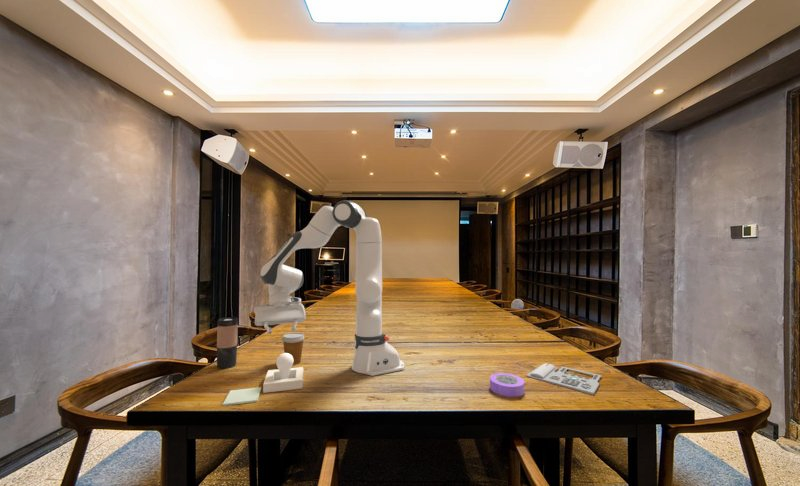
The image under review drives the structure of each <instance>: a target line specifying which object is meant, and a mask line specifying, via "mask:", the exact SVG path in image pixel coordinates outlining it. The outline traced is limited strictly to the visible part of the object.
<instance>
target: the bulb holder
mask: <svg viewBox="0 0 800 486" xmlns="http://www.w3.org/2000/svg"><path fill="white" fill-rule="evenodd" d="M303 385H304V367H303V366H300V367H291V369H290V372H289V376H288V379H281V376H280V371H279V369H278V368H277V369H269V370H267V372H266V375H265V379H264V381H263V389H262V393H263V394H264V393H265V394H266V393H274V392H281V391H291V390H292V391H293V390H301V389H303Z"/></svg>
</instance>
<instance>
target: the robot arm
mask: <svg viewBox="0 0 800 486" xmlns="http://www.w3.org/2000/svg"><path fill="white" fill-rule="evenodd" d="M341 226H343V227H345V228H348V229H353V231H354V232H355V236H356V237H355V238H356V239H355V285H354V289H355V290H354V291H355V296H356V308H355V310H356V311H355V334H354V342H353V344H354V356H353V359H352V360H353V361H352V365H351V367H350V368H351V370H352V371H354V372H356V373H358V374H365V375H368V376H370V377H372V376H373V377H374V376H378V375H383V374H390V373H395V372H398V371H403V370H405V368H406V367H405V366H406V365H405V363H404V361H403V360H402V359H400V355H399V352H398V351H397V349H396V348H395V347H393V346H392V345H391V344H390V343H388V342H389V340H390V337H389V336H388V335H387V334H385V333H383V329H382V328H383V302H382V301H383V297H382V296H383V239H382V229H381V225H380V222H379V220H378V219H377V218H374V217H369V216H368V215H367V213H366V211H365V209H364V208H363V207H362V206H360V205H359V204H357V203H355V202H353V201H351V200H347V199H346V200H340V201H338V202H337V203H335V205H334V206H331V205H323V206H322V207H321V208H320V209H319V210H318V211H317V212H316V213H315V214H314V215H313V216H312V218H311V220H310V221H309V222H308V224H307V226H306V227H304V228H303V229H302V230H300V231H296V232H295V231H294V233H293V234H291V236H289V238H288V239H287V240H286V241H285V242H284V243H283V244H282V246H281V247H280V248H279V249H278V250H277V251H276V252H275V254H274V255H273V256H272V257H271V258H270V259H268V260H267V261H266V262H265V263H264V264H263V266H261V269H260V271H259V277H260V279H261V281H262V282H263V283H264V284H266V285H268V294H269V297H268V304H260V305H257V306H255V307H254V308H253V314H254V316H255V317H254V325H255V326H256V327H262V326H264V329H265V330H266V332H267V333H266V334H267V335H269V334H272V327H270V326H271V325H284V324H285V325H286V324H293V325H291V332H296V331H297V326H298V323H304V322H305V320H306V318H307V315H306V314H307V313H306V309H305V306H304V305H303V303H302V298H301V297H295V296H291V294H293V293H294V292H297V290H299V289H300V288H301V287H302V286H303V284H304V281H305V280H304V274H303V271H302V270H300V269H298V268H295V267H292V266H289V265H287V264H284V263H285V262H286V261H287V260H288V259H289V257H290V256H291V255H292V254H293V253H294V252H295V251H298V250H301V249H319V248H322V247H325V246H326V244H327V243H328V242H329V241H330V239H331V238H332V235H333V234H334V232H335V231H336V230H337V229H338V228H339V227H341Z"/></svg>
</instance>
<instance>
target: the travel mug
mask: <svg viewBox="0 0 800 486" xmlns="http://www.w3.org/2000/svg"><path fill="white" fill-rule="evenodd" d="M238 320H239V319H238V317H236V316H229V317H228V316H227V317H221V318H219V319H218V320H217V328H216V330H217V331H216V333H217V334H216V368H217V369H219V370H226V369H231V368H234V367H236V366H237V359H238V358H237V354H238V326H239V325H238Z"/></svg>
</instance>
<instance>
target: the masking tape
mask: <svg viewBox="0 0 800 486" xmlns="http://www.w3.org/2000/svg"><path fill="white" fill-rule="evenodd" d="M489 389H490V390H491V392H493V393H494V394H496V395H499V396H502V397H503V396H504V397H507V398H516V397H517V398H518V397H521V396H524V394H525V380H524V379H523V378H522V377H520V376H518V375H515V374H512V373H508V372H507V373H506V372H498V373H497V372H496V373H494V374H491V375H490V377H489Z"/></svg>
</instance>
